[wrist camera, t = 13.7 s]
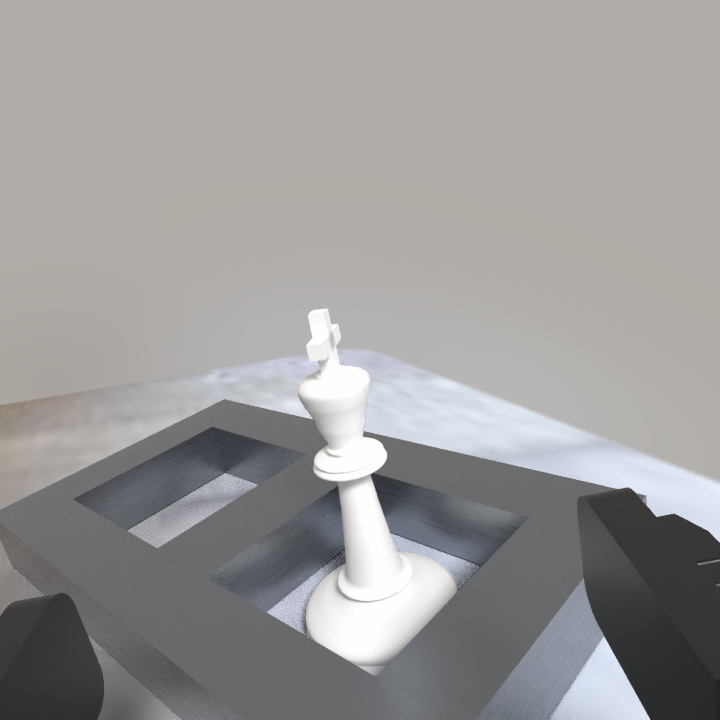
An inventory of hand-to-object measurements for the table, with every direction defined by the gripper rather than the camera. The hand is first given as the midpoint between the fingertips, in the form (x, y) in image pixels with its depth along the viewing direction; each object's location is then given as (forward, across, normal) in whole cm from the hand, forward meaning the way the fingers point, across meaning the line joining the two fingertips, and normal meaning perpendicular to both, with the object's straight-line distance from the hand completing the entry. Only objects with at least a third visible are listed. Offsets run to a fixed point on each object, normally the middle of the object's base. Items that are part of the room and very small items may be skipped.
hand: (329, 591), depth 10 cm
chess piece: (+8, 0, +8) cm, 11 cm away
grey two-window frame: (+12, +4, +7) cm, 14 cm away
